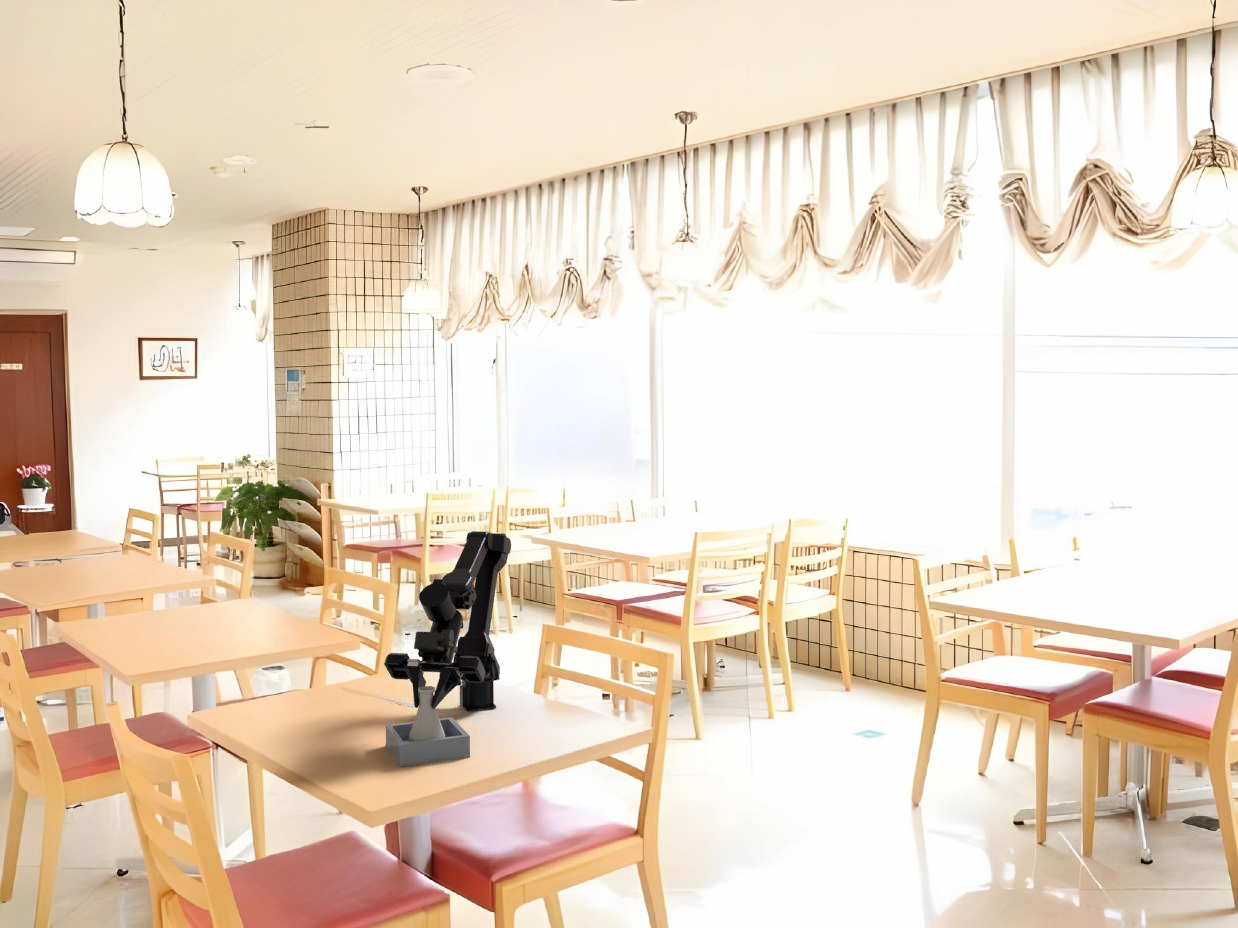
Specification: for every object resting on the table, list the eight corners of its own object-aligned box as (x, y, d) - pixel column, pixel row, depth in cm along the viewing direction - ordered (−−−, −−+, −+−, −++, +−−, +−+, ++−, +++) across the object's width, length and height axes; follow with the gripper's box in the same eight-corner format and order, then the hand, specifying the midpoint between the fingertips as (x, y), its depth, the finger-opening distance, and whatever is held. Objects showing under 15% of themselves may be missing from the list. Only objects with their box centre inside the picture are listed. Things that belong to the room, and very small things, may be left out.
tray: (452, 736, 207) (452, 717, 207) (470, 756, 195) (469, 735, 195) (386, 745, 202) (385, 725, 201) (400, 766, 190) (399, 744, 189)
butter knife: (408, 708, 227) (418, 704, 229) (332, 688, 244) (343, 685, 246) (408, 710, 227) (419, 706, 229) (332, 691, 244) (343, 687, 246)
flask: (439, 731, 203) (439, 681, 203) (451, 742, 197) (451, 690, 196) (402, 737, 200) (402, 685, 199) (413, 748, 194) (413, 695, 193)
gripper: (387, 611, 202) (364, 683, 192) (479, 614, 199) (461, 687, 189) (403, 642, 211) (382, 712, 201) (492, 646, 207) (475, 717, 197)
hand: (424, 707), depth 197 cm, fingers closed on flask, 3 cm apart
